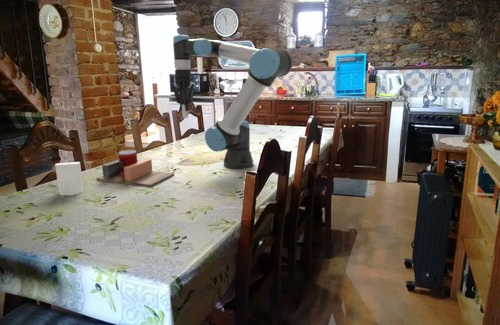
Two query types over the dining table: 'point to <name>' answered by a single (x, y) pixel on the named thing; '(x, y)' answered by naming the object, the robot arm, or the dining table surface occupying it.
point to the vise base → (113, 175)
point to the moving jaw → (138, 169)
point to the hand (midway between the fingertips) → (185, 117)
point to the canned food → (127, 159)
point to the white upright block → (69, 178)
